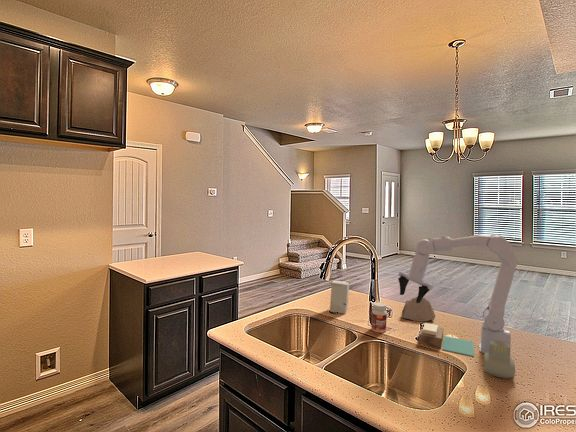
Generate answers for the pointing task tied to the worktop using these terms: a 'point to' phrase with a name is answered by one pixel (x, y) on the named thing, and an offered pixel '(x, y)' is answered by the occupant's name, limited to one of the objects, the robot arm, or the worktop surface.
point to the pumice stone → (418, 310)
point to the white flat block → (430, 329)
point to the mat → (458, 346)
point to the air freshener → (499, 360)
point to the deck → (431, 338)
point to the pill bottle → (379, 317)
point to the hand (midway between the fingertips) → (409, 298)
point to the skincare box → (339, 297)
